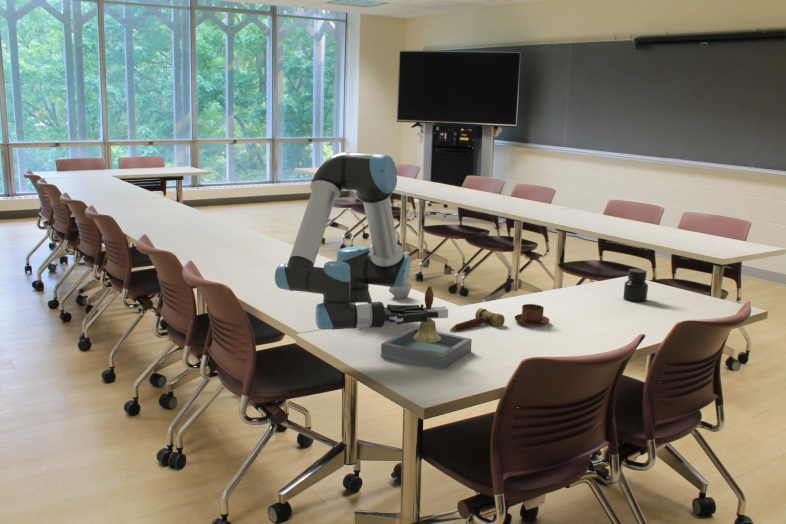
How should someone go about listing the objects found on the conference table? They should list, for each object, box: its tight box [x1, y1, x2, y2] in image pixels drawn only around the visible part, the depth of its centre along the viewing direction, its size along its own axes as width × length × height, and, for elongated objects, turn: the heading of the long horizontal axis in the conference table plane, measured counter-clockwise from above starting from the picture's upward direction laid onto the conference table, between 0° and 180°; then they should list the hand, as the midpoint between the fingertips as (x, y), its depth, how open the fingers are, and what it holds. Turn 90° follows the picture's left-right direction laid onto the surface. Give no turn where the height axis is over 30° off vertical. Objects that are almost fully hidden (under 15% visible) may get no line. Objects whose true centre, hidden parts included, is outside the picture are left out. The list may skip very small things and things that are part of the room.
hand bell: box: [413, 285, 441, 343], centre depth 210 cm, size 8×8×16 cm
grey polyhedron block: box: [388, 280, 413, 300], centre depth 274 cm, size 8×9×10 cm
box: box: [380, 326, 472, 372], centre depth 213 cm, size 20×20×4 cm
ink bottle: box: [622, 268, 649, 303], centre depth 282 cm, size 10×9×12 cm
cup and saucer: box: [514, 303, 550, 327], centre depth 247 cm, size 12×12×6 cm
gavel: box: [449, 307, 505, 332], centre depth 241 cm, size 21×5×10 cm
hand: (446, 312), depth 211 cm, fingers closed on hand bell, 2 cm apart
